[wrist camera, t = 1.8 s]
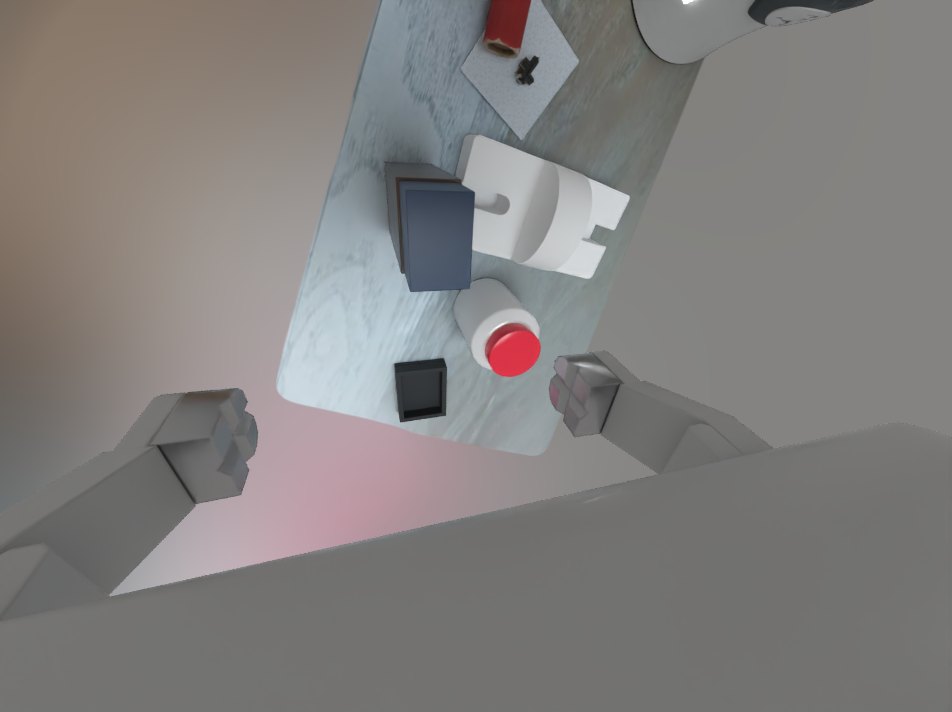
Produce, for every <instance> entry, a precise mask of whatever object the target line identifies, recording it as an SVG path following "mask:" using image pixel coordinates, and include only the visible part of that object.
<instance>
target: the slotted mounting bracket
mask: <svg viewBox="0 0 952 712" xmlns="http://www.w3.org/2000/svg"><path fill="white" fill-rule="evenodd" d="M455 177H457V178H459V179H461V180H462V185H463V186H465V187H467V188H469V189H471V190H472V191H474V192H475V205H474V223H473V241H472V250H473V251H478V252H482V253H486V254H490V255H494V256H498V257H502V258H506V259H510V260H512V261H513V262H515V263H517V264H521V265H525V266H529V267H533V268H537V269H541V270H545V271H552V270H554V271H558V272H562V273H566V274H570V275H574V276H578V277H582V278H586V279H589V278H591V277H592V276H593V274H594V272H595V270H596V268H597V266H598V263H599V261H600V259H601V257H602V255H603V253H604V251H605V249H606V247H604V246H602V245H600V244H598V243H596V242H594V241H592V240H590V239H589V238H590V236H591V234H592V231H593V229H594V227H595V225H599V226H602V227H605V228H608V229H611V230H615V228H616V226H617V224H618V222H619V220H620V218H621V216H622V214H623V211H624V209H625V207H626V205H627V203H628V201H629V199H630V196H628V195H626V194H623V193H621V192H619V191H617V190H614V189H612V188H610V187H608V186H605V185H603V184H601V183H599V182H597V181H594V180H592V179H590V178H588V177H585V175H583V174H580V173H578V172H575V171H573V170H570V169H568V168H565V167H563V166H560V165H558V164H555V163H553V162H550V161H547V160H543V159H541V158H538V157H535V156H533V155H530V154H528V153H525V152H523V151H520V150H518V149H515V148H513V147H510V146H508V145H505V144H502V143H500V142H497V141H495V140H492V139H490V138H487V137H485V136H482V135H473V134H468V135H466V136H465V138H464V140H463V144H462V149H461V153H460V157H459V161H458V165H457V169H456V173H455Z"/></svg>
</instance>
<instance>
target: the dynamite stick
mask: <svg viewBox="0 0 952 712" xmlns="http://www.w3.org/2000/svg"><path fill="white" fill-rule="evenodd" d="M530 4H531V0H492V1H491V6H490V10H489V15H488V20H487V25H486V29H485V34H484V39H483V44H484V46H485V48H486V49H487V50H488V51H490V52H492V53H493V54H495V55H498V56H501V57H505V58H517V57H518V55H519V54H520V49H521V45H522V40H523V36H524V31H525V27H526V22H527V18H528V13H529V8H530Z"/></svg>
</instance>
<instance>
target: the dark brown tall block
mask: <svg viewBox="0 0 952 712" xmlns="http://www.w3.org/2000/svg"><path fill="white" fill-rule="evenodd" d="M384 164H385V177H386V190H387V204H388V217H389V231H390V236H391V239H392V243H393V246H394V250H395V253H396V257H397V260H398V263H399V267H400V270H401V273H402V274H404V264H403V246H402V228H401V210H400V192H399V181H422V182H450V183H460V184H462V180H461V179H459V178H457V177H455V176H453V175H451V174H450V173H448V172H446V171H444V170H442V169H440V168H438V167H436V166H434V165H432V164H423V163H403V162H384Z"/></svg>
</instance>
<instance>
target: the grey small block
mask: <svg viewBox="0 0 952 712" xmlns="http://www.w3.org/2000/svg"><path fill="white" fill-rule="evenodd" d="M485 29H486V28H485ZM484 34H485V30H484V32H483V33H482V35H481V36H480V38H479V39H478V41H477V43H476V44H475V46H474V47H473V49H472V50H471V52H470V54H469V55H468V57H467V58H466V60H465V62H464V63H463V65H462V66H461V68H460V70H461V71H462V72H463V73H464V74H465V76H466V77H467V78H468V79H469V80H470V81H471V83H472V84H473V85H474V86H475V87H476V88H477V90H478V91H479V92H480V93H481V94H482V95H483V97H484V98H485V99H486V100H487V101H488V102H489V103H490V105H491V106H492V107H493V108H494V109H495V110H496V112H497V113H498V114H499V115H500V116H501V117H502V119H503V120H504V121H505V122H506V123H507V124H508V126H509V127H510V128H511V129H512V130H513V131H514V133H515V134H516V135H517V136H518V137H519V138H520V140H521V141H522V139H523V138H524V136H525V135H526V134H527V132H528V131H529V130H530V128H531V127H532V126H533V124H534V123H535V121H536V120H537V119H538V117H539V116H540V115H541V113H542V112H543V110H544V109H545V108H546V106H547V105H548V104H549V102H550V101H551V100H552V98H553V97H554V95H555V94H556V93H557V91H558V90H559V89H560V87H561V86H562V84H563V83H564V82H565V80H566V79H567V78H568V76H569V75H570V74H571V72H572V71H573V69H574V68H575V67H576V65H577V64H578V63H579V60H578V58H577V57H576V55H575V54H574V52H573V50H572V49H571V47H570V46H569V44H568V43H567V41H566V39H565V38H564V36H563V35H562V33H561V31H560V30H559V28H558V27H557V25H556V24H555V22H554V20H553V19H552V17H551V16H550V14H549V13H548V11H547V9H546V8H545V6H544V5H543V3H542V2H541V0H531V4H530V8H529V13H528V18H527V22H526V27H525V31H524V36H523V40H522V45H521V49H520V54H519V55H518V57H517V58H505V57H501V56H498V55H495V54H493V53H492V52H490V51H488V50H487V49H486V48H485V46H484V44H483V39H484Z"/></svg>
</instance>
